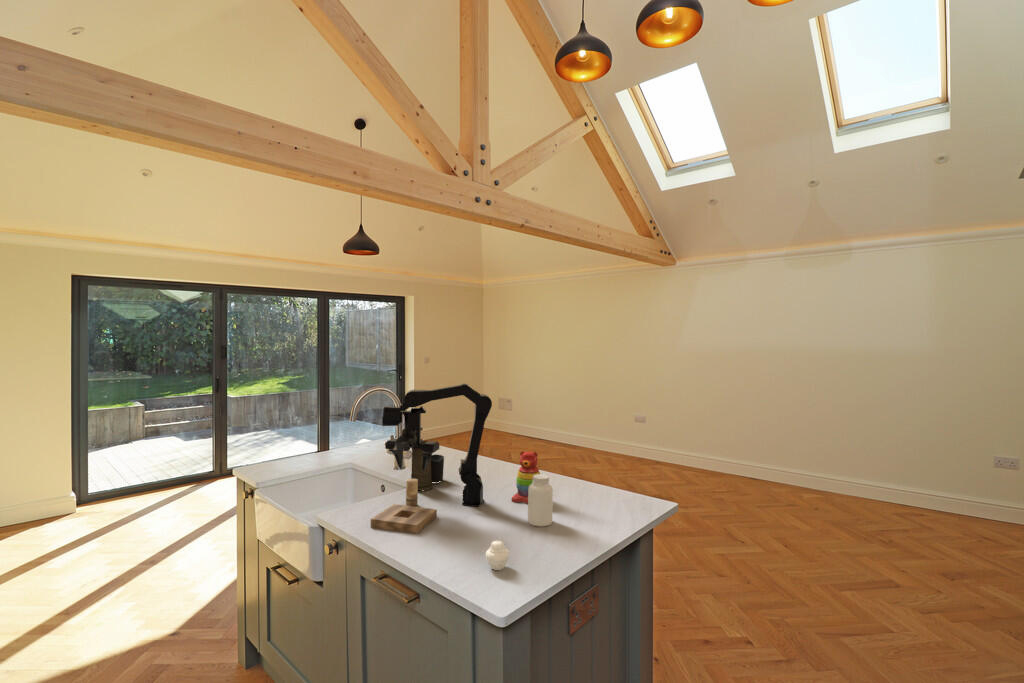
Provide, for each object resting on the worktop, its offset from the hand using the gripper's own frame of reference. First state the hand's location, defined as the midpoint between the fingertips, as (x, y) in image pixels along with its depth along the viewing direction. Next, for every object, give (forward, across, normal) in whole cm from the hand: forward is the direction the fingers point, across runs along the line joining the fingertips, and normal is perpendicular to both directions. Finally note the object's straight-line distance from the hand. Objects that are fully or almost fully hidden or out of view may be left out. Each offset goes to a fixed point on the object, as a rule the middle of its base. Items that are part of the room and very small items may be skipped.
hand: (412, 469), depth 164 cm
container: (+13, -6, +19) cm, 24 cm away
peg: (+13, 0, 0) cm, 13 cm away
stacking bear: (+13, +38, +19) cm, 44 cm away
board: (+13, +5, -14) cm, 20 cm away
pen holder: (+13, -6, +29) cm, 32 cm away
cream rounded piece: (+13, +43, -34) cm, 56 cm away
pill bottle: (+13, +47, -1) cm, 49 cm away
